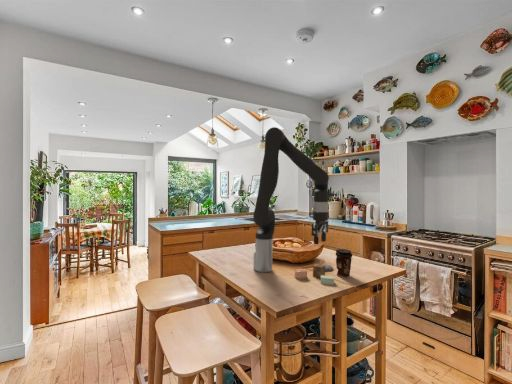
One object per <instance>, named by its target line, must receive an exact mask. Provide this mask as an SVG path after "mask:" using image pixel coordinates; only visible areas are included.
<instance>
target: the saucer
mask: <svg viewBox="0 0 512 384" xmlns="http://www.w3.org/2000/svg"><path fill="white" fill-rule="evenodd" d="M321 265H325V272H332V271H333V266H332V265H329V264H321Z"/></svg>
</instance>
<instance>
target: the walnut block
mask: <svg viewBox="0 0 512 384" xmlns="http://www.w3.org/2000/svg"><path fill="white" fill-rule="evenodd" d="M325 265H326V264H324V265H321V264H319V263H315V264H314V265H312V277H315V278H318V279H321V275H324V276H326V271H325Z"/></svg>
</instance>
